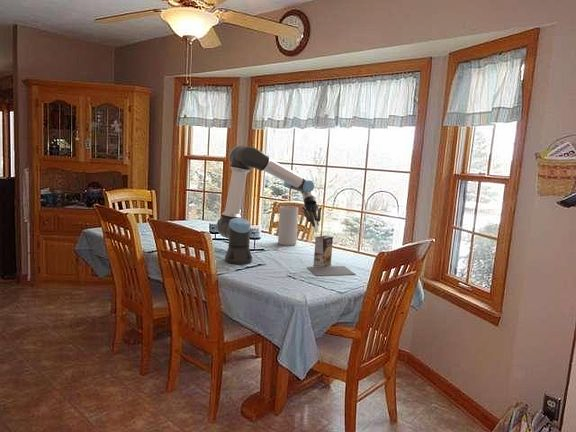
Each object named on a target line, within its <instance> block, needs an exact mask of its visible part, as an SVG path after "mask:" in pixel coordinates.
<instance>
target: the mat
mask: <svg viewBox="0 0 576 432" xmlns="http://www.w3.org/2000/svg"><path fill="white" fill-rule="evenodd" d="M306 268H307V270H309V271H310V272H311V273H312V274H313V275H314V276H316V277H329V276H334V275H335V276H356V273H355V272H353V271H352V270H351V269H349V268H348V267H346V266H345V265H332V266H331V265H327V266H324V267H320V266H307V267H306Z"/></svg>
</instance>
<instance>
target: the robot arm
mask: <svg viewBox="0 0 576 432" xmlns="http://www.w3.org/2000/svg"><path fill="white" fill-rule="evenodd" d="M228 158H229V161H230V169H231V175H230V181H229V186H228V192H227V198H226V203H225V209H224V211H223V212H222V213H221V216H220V218H219V219H218V220H217V222H216V230H217V232H218V234H219V235H220V236H222V237H223V238H226V239H228V246H227V250H226V253H225V255H224V256H225V257H224V261H225V263H227V262H228V263H227V264H231V263H232V265H248V264H251V263H252V261H253V255H252V252H251V250H250V243H251V242H250V240H251V223H250V221H249V220H248V219H245V218H242V215H241V214H240V211H241V207H242V202H243V198H244V192H245V191H244V190H245V186H246V180H247V174H248V173H250V172H251V168H252V169H256V170H258V171H259V172H262V171H264V172H266V174H267V173H268V174H269V175H271V176H273V177H275V178H277V179H279V180H281V181H283V184H284V185H283V186H284V187H285V188H286V189H288V190H289V189H290V190H294V191H297V192H300V193H301V196H302V201H303V205H304V206H303V207H302V208H301V212H303V215H304V216H305V218H306V220H307V222H308V223H310V224H311V226H312V227H313V229H314V232H315V233H318V231H319V226H320V222H321V217H322V216H321V215H322V209H323V207H319V205H317V204H318V203H317V199H316V196H315V192H314V190H315V182H314V181H313V180H311V179H310V178H309V177H304V176H301V174H298V173H296V171H295V172H294V171H293V170H291V169H289V168H287V167H285V166H284V165H282V164H280V163H279V162H276V161H275V160H273V159H271V158H270V156H269V155H267V154H266V153H264V152H263V151H261V150H260V149H258V148H257V147H254V146H248V145H246V146H245V145H237V146H234V147H233V148H232V149H231V150H230V152H229V156H228Z"/></svg>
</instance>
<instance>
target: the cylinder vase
mask: <svg viewBox="0 0 576 432" xmlns="http://www.w3.org/2000/svg"><path fill="white" fill-rule="evenodd" d="M278 211H279V212H278V213H279V214H278V234H277V235H278V236H277V244H278V245H281V246H289V247H291V246H296V245H297V239H298V238H297V236H298V223H299V222H298V220H299V207H297V206H293V205H292V206H290V205H281V206H279V210H278Z"/></svg>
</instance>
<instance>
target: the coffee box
mask: <svg viewBox="0 0 576 432" xmlns="http://www.w3.org/2000/svg"><path fill="white" fill-rule="evenodd" d="M333 239H334V236H328V235H320V236H315V241H314V255H313V266H315V267H324V266H331V264H332V253H333V241H334V240H333Z"/></svg>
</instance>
